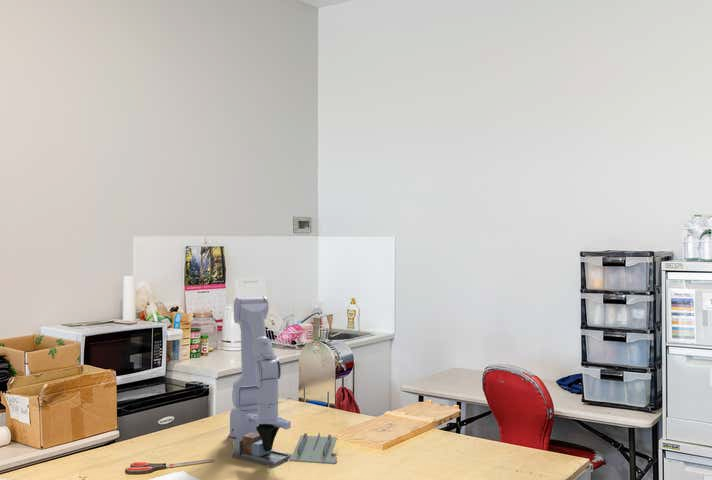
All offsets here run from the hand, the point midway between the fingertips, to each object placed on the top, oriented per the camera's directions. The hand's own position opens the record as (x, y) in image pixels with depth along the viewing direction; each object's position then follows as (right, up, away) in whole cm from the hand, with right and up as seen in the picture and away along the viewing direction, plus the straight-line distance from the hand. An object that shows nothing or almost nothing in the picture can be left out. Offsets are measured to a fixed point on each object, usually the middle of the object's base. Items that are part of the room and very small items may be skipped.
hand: (268, 450), depth 189 cm
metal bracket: (+13, -3, +4) cm, 14 cm away
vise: (-2, -3, +1) cm, 4 cm away
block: (-5, -2, +3) cm, 6 cm away
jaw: (-2, -1, +1) cm, 3 cm away
